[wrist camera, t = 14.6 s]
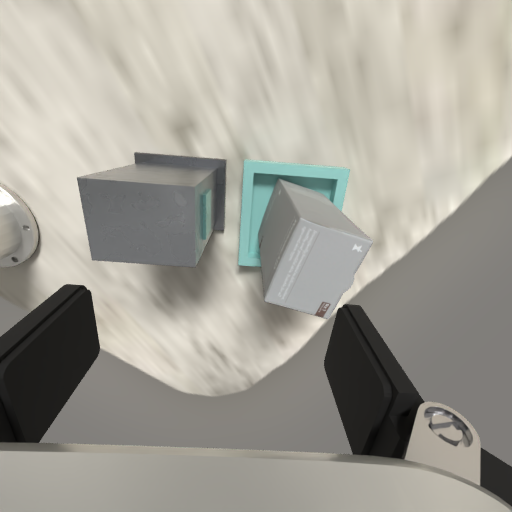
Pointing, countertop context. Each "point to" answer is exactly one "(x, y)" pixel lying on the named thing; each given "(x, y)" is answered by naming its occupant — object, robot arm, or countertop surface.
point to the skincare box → (308, 250)
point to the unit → (154, 209)
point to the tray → (261, 187)
